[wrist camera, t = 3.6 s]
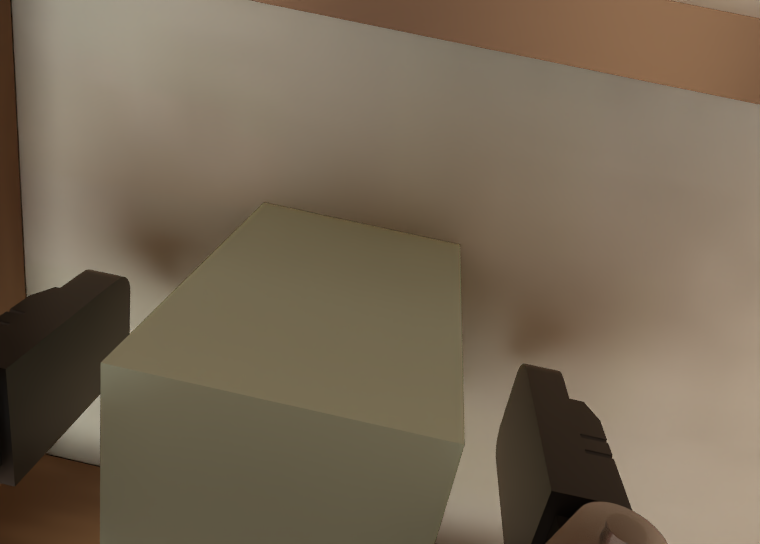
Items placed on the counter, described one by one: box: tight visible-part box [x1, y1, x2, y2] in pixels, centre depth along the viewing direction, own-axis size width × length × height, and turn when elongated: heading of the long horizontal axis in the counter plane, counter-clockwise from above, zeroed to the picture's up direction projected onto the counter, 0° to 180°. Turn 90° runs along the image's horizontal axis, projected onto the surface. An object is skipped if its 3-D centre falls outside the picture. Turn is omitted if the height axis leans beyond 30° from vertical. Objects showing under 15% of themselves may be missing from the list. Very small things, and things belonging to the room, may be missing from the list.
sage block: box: [100, 202, 465, 544], centre depth 12 cm, size 4×4×7 cm
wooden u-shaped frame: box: [0, 0, 760, 544], centre depth 13 cm, size 18×15×4 cm
